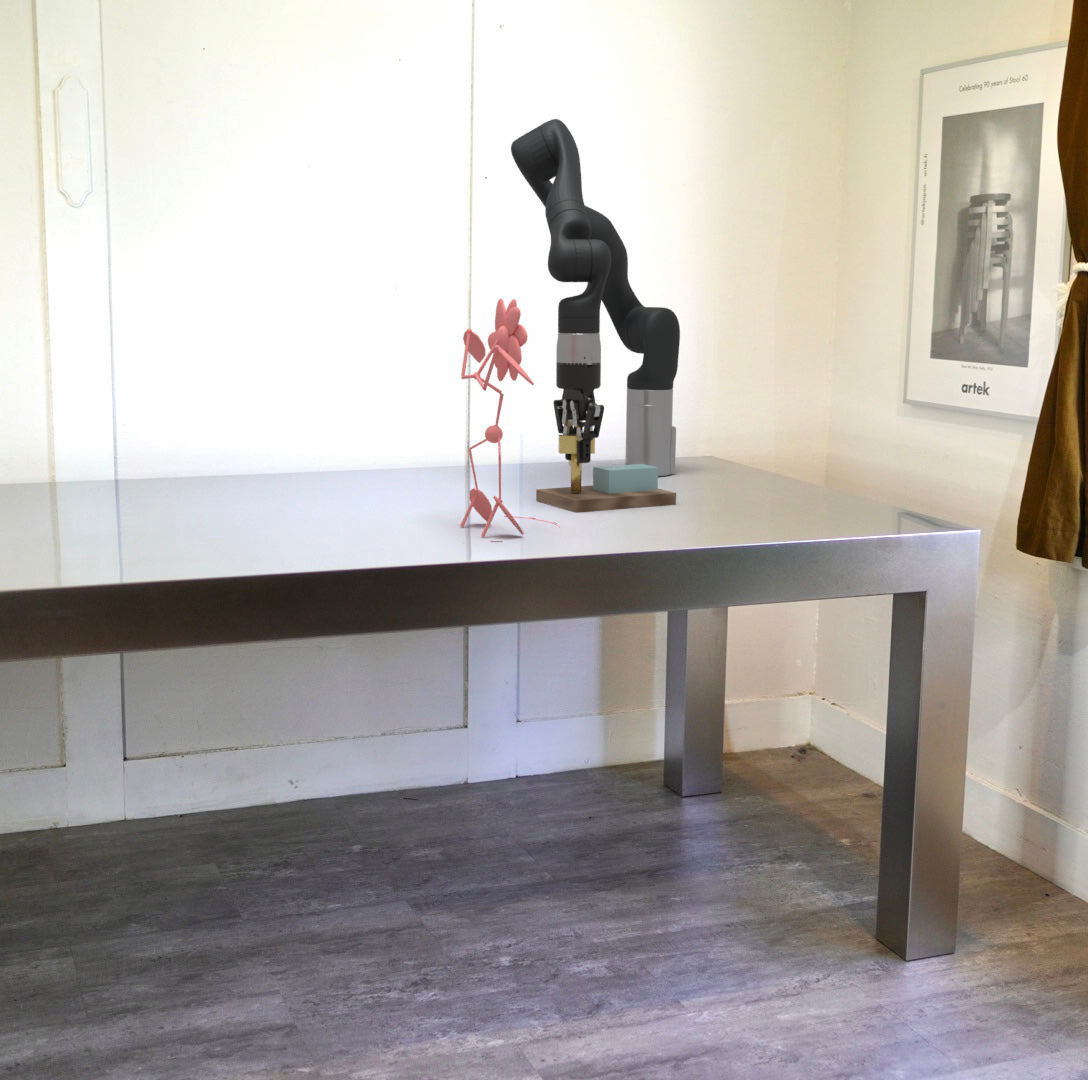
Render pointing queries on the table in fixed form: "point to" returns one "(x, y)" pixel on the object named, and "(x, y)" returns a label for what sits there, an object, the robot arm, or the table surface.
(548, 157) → the robot arm
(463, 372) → the pink stick flower
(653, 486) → the cover
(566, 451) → the t key
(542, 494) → the base
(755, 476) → the table surface
